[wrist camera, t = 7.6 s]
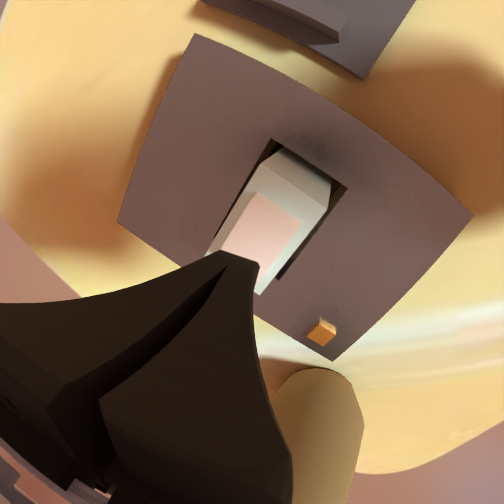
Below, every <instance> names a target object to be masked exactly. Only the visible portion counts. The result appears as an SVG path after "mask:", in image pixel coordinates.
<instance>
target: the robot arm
mask: <svg viewBox="0 0 504 504" xmlns="http://www.w3.org/2000/svg"><path fill="white" fill-rule="evenodd" d="M259 269H260V265H259V263H258V262H256V261H253V260H250V259H247V258H244V257H241V256H238V255H235V254H232V253H229V252H226V251H223V250H218V251H216V252H214V253H211V254H209V255H207V256H205V257H203V258H201V259H199V260H197V261H195V262H192V263H190V264H188V265H186V266H184V267H181V268H179V269H177V270H175V271H172V272H170V273H167V274H165V275H162V276H160V277H157V278H154V279H152V280H149V281H147V282H144V283H141V284H138V285H135V286H132V287H128V288H124V289H121V290H117V291H114V292H109V293H105V294H100V295H95V296H90V297H84V298H80V299H73V300H65V301H57V302H44V303H0V446H1V447H2V448H3V449H4V450H5V451H6V452H8V454H10V455H11V456H12V457H13V458H14V459H15V460H16V461H17V462H18V463H20V464H21V465H22V466H23V467H24V468H25V469H27V470H28V471H29V472H30V473H31V474H33V475H34V476H35V477H36V478H37V479H39V480H40V481H41V482H42V483H44V484H45V485H46V486H48V487H49V488H50V489H52V490H53V491H54V492H56V493H57V494H58V495H60V496H61V497H63V498H64V499H65V500H67V501H69V502H70V503H71V504H292V498H293V463H292V454H291V451H290V449H289V447H288V445H287V443H286V441H285V438H284V436H283V434H282V432H281V429H280V427H279V424H278V422H277V419H276V417H275V414H274V411H273V408H272V406H271V403H270V400H269V397H268V393H267V390H266V386H265V383H264V379H263V375H262V372H261V368H260V363H259V358H258V353H257V347H256V341H255V332H254V320H253V292H254V288H255V284H256V281H257V277H258V273H259ZM19 478H20V474H19V473H18V472H17V471H16V470H15V469H14V468H13V467H12V466H11V465H10V464H9V463H8V462H6V461H5V460H4V459H3V458H2V457H1V456H0V504H38V503H37V502H35V501H34V500H33V499H31V498H30V497H29V496H28V495H26V494H25V493H24V492H23V491H22V490H20V489H19V488H18V487H17V486H16V485H15V483H16V482H17V480H18V479H19ZM94 488H96V489H98V490H100V491H101V492H103V493H105V494H106V493H108V494H110V495H112V496H111V498H110V499H109V498H107V497H105V496H103V495H101V494H100V493H98V492H97V491H95V490H94Z"/></svg>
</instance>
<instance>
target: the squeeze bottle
mask: <svg viewBox="0 0 504 504" xmlns="http://www.w3.org/2000/svg"><path fill="white" fill-rule="evenodd" d="M270 403H271V406H272V408H273V411H274V414H275V417H276V419H277V422H278V424H279V427H280V429H281V432H282V434H283V436H284V438H285V441H286V443H287V445H288V447H289V449H290V451H291V454H292V463H293V498H292V504H346V501H347V498H348V494H349V491H350V487H351V483H352V479H353V475H354V471H355V467H356V463H357V459H358V454H359V450H360V445H361V440H362V435H363V430H364V421H363V416H362V413H361V410H360V407H359V404H358V401H357V399H356V396H355V393H354V390H353V388H352V385H351V383H350V382H349V381H348V380H347V379H346V378H345V377H344V376H343V375H340V374H338V373H336V372H334V371H332V370H326V369H319V368H313V369H303V370H301V371H298V372H296V373H293V374H291V375H290V377H289V378H288V379H287V380H286V381H285V382H284V383H283V384H282V386H281V387H280V388H279V389H278V391H277V392H276V393H275V394H274V395H273V397H272V398H271V399H270Z"/></svg>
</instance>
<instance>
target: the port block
mask: <svg viewBox="0 0 504 504" xmlns="http://www.w3.org/2000/svg"><path fill="white" fill-rule="evenodd" d="M277 142H278V143H280V144H282V145H283V146H285V147H287V148H288V149H290V150H291V151H293V152H294V153H296V154H298V155H299V156H301V157H302V158H304V159H305V160H307V161H308V162H310V163H312V164H313V165H315V166H316V167H318V168H319V169H321V170H322V171H324V172H325V173H327V174H328V175H329V176H331V177H332V178H334V179H335V180H337V181H338V182H340V183H341V185H340V186H339V187H338V189H337V190H336V192H335V193H334V194H333V196H332V197H331V199H330V200H329V202H328V208H327V210H326V212H325V213H324V214H323V216H322V217H321V218H320V220H319V221H318V222H317V223H316V225H315V226H314V227H313V229H312V230H311V231H310V232H309V234H308V235H307V236H306V238H305V239H304V240H303V241H302V243H301V244H300V245H299V247H298V248H297V249H296V250H295V252H294V253H293V254H292V255H291V257H290V258H289V259H288V261H287V262H286V263H285V264H284V266H283V267H282V268H281V269H280V271H279V272H278V273H277V274H276V276H275V277H274V278H273V279H272V281H271V282H270V283H269V284H268V286H267V287H266V288H265V289H264V291H263V292H262V293H261V294H260V295H258V294H257V293H255V292H253V314H254V315H256V316H258V317H259V318H261V319H262V320H264V321H266V322H267V323H269V324H270V325H272V326H274V327H275V328H277V329H279V330H280V331H282V332H283V333H285V334H287V335H288V336H290V337H292V338H293V339H295V340H297V341H298V342H300V343H302V344H303V345H305V346H307V347H308V348H310V349H312V350H313V351H315V352H317V353H319V354H320V355H322V356H324V357H325V358H327V359H329V360H330V361H332V362H333V361H334V360H335V359H336V358H337V357H339V356H340V355H341V354H342V353H343V352H344V351H346V350H347V349H348V348H349V347H350V346H351V345H352V344H353V343H355V342H356V341H357V340H358V339H359V338H360V337H361V336H362V335H363V334H365V333H366V332H367V331H368V330H369V329H370V328H371V327H372V326H373V325H374V324H375V323H376V322H377V321H378V320H380V319H381V318H382V317H383V316H384V315H385V314H386V313H387V312H388V311H389V310H390V309H391V308H392V307H393V306H394V305H395V304H396V303H397V302H398V301H399V300H400V299H401V298H402V297H403V296H404V295H405V294H406V293H407V292H408V291H409V290H410V289H411V288H412V287H413V285H414V284H415V283H416V282H417V281H418V280H419V279H420V278H421V277H422V276H423V275H424V274H425V273H426V272H427V270H428V269H429V268H430V267H431V266H432V265H433V264H434V263H435V262H436V260H437V259H438V258H439V257H440V256H441V255H442V254H443V252H444V251H445V250H446V249H447V248H448V247H449V245H450V244H451V243H452V242H453V241H454V239H455V238H456V237H457V236H458V235H459V233H460V232H461V231H462V230H463V228H464V227H465V226H466V225H467V223H468V222H469V221H470V220H471V218H472V217H473V216H474V215H473V214H472V213H471V212H470V211H469V210H468V209H467V208H466V207H465V206H464V205H462V204H461V203H460V202H459V201H458V200H457V199H456V198H455V197H454V196H453V195H452V194H451V193H450V192H449V191H448V190H447V189H445V188H444V187H443V186H442V185H441V184H440V183H439V182H438V181H436V180H435V179H434V178H433V177H432V176H431V175H430V174H428V173H427V172H426V171H425V170H424V169H423V168H421V167H420V166H419V165H418V164H417V163H415V162H414V161H413V160H412V159H410V158H409V157H408V156H407V155H405V154H404V153H403V152H402V151H400V150H399V149H398V148H397V147H395V146H394V145H393V144H391V143H390V142H389V141H387V140H386V139H385V138H383V137H382V136H381V135H379V134H378V133H376V132H375V131H374V130H372V129H371V128H370V127H368V126H367V125H365V124H364V123H362V122H361V121H359V120H358V119H357V118H355V117H354V116H352V115H351V114H349V113H348V112H346V111H345V110H343V109H342V108H340V107H338V106H337V105H335V104H334V103H332V102H331V101H329V100H327V99H326V98H324V97H323V96H321V95H319V94H318V93H316V92H314V91H313V90H311V89H309V88H308V87H306V86H304V85H302V84H301V83H299V82H297V81H295V80H294V79H292V78H290V77H288V76H286V75H284V74H283V73H281V72H279V71H277V70H275V69H273V68H271V67H269V66H267V65H265V64H263V63H261V62H259V61H257V60H255V59H253V58H251V57H249V56H247V55H245V54H243V53H241V52H239V51H236V50H234V49H232V48H230V47H228V46H225V45H223V44H221V43H218V42H216V41H214V40H211V39H209V38H206V37H204V36H201V35H199V34H196V33H194V35H193V37H192V39H191V41H190V43H189V45H188V46H187V48H186V50H185V52H184V54H183V56H182V58H181V60H180V62H179V64H178V66H177V68H176V70H175V72H174V74H173V76H172V78H171V81H170V83H169V85H168V87H167V89H166V91H165V93H164V96H163V98H162V100H161V102H160V105H159V107H158V109H157V112H156V114H155V116H154V119H153V121H152V124H151V126H150V128H149V131H148V133H147V136H146V138H145V141H144V144H143V146H142V149H141V151H140V154H139V157H138V159H137V162H136V165H135V168H134V171H133V173H132V176H131V179H130V182H129V185H128V188H127V191H126V194H125V197H124V200H123V203H122V207H121V210H120V213H119V216H118V220H117V222H118V223H119V224H120V225H122V226H123V227H125V228H126V229H127V230H129V231H130V232H132V233H133V234H134V235H136V236H137V237H139V238H140V239H142V240H143V241H144V242H146V243H147V244H149V245H150V246H152V247H153V248H154V249H156V250H157V251H159V252H160V253H162V254H163V255H165V256H166V257H167V258H169V259H170V260H172V261H173V262H175V263H176V264H178V265H179V266H181V267H184V266H186V265H188V264H190V263H192V262H195V261H197V260H199V259H201V258H203V257H204V256H205V254H206V253H207V251H208V249H209V248H210V246H211V244H212V242H213V241H214V239H215V237H216V236H217V234H218V232H219V231H220V229H221V227H222V226H223V224H224V222H225V221H226V219H227V217H228V216H229V214H230V212H231V211H232V209H233V207H234V206H235V204H236V202H237V201H238V199H239V197H240V196H241V194H242V193H243V191H244V189H245V188H246V186H247V184H248V183H249V181H250V180H251V178H252V176H253V175H254V173H255V171H256V170H257V168H258V167H259V165H260V163H262V162H263V161H265V160H266V159H267V158H268V156H269V154H270V153H271V151H272V149H273V148H274V146H275V144H276V143H277Z"/></svg>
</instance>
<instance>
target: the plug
mask: <svg viewBox="0 0 504 504" xmlns="http://www.w3.org/2000/svg"><path fill="white" fill-rule="evenodd" d="M331 184H332V177H331V176H329V175H328V174H327V173H325V172H324V171H322V170H321V169H319V168H318V167H316V166H315V165H313V164H312V163H310V162H308V161H307V160H305V159H304V158H302V157H301V156H299V155H298V154H296V153H294V152H293V151H291V150H290V149H288V148H287V147H283V148H282V149H280V150H279V151H278V152H276V153H275V154H273V155H272V156H270V157H269V158H268V159H266V160H265V161H263V162H262V163H260V165H259V167H258V168H257V170H256V171H255V173H254V175H253V176H252V178H251V180H250V181H249V183H248V184H247V186H246V188H245V189H244V191H243V193H242V194H241V196H240V197H239V199H238V201H237V202H236V204H235V206H234V207H233V209H232V211H231V212H230V214H229V216H228V217H227V219H226V221H225V222H224V224H223V226H222V227H221V229H220V231H219V232H218V234H217V236H216V237H215V239H214V241H213V242H212V244H211V246H210V248H209V249H208V251H207V253H206V254H205V256H207V255H209V254H211V253H214V252H216V251H218V250H223V251H226V252H229V253H232V254H235V255H238V256H241V257H244V258H247V259H250V260H253V261H256V262H258V263H259V265H260V269H259V273H258V277H257V281H256V284H255V288H254V292H255V293H257V294H258V295H260V294H261V293H262V292H263V291H264V289H265V288H266V287H267V286H268V284H269V283H270V282H271V281H272V279H273V278H274V277H275V276H276V274H277V273H278V272H279V271H280V269H281V268H282V267H283V266H284V264H285V263H286V262H287V261H288V259H289V258H290V257H291V255H292V254H293V253H294V252H295V250H296V249H297V248H298V247H299V245H300V244H301V243H302V241H303V240H304V239H305V238H306V236H307V235H308V234H309V232H310V231H311V230H312V229H313V227H314V226H315V225H316V223H317V222H318V221H319V220H320V218H321V217H322V216H323V214H324V213H325V212H326V210H327V208H328V202H329V196H330V190H331ZM205 256H204V257H205Z"/></svg>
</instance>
